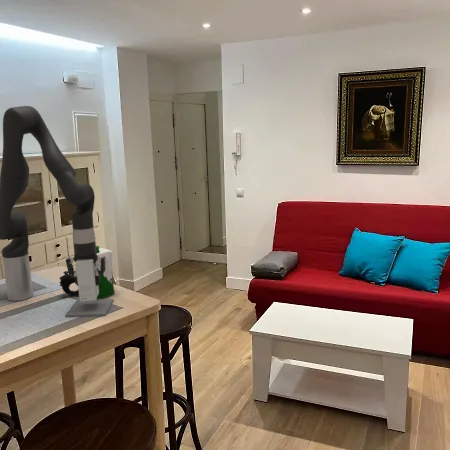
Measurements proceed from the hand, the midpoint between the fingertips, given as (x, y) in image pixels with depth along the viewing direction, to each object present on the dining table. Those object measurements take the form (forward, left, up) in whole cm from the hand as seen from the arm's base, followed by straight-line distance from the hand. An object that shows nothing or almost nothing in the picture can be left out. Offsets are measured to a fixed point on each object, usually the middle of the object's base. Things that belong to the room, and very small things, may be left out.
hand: (88, 285), depth 164 cm
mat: (0, 0, -9) cm, 9 cm away
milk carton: (-14, +1, -9) cm, 17 cm away
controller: (-15, -9, -9) cm, 20 cm away
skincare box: (0, 0, -5) cm, 5 cm away
